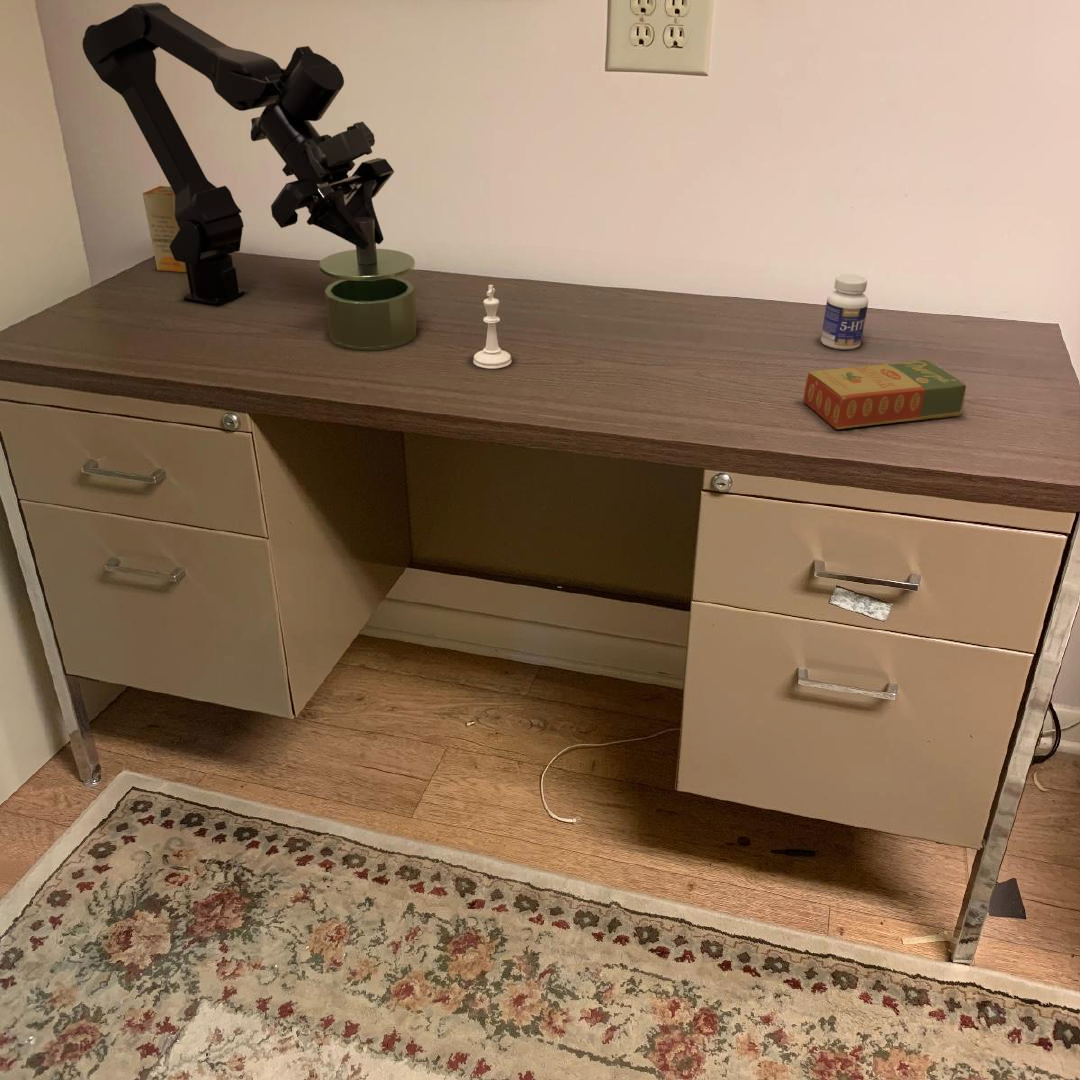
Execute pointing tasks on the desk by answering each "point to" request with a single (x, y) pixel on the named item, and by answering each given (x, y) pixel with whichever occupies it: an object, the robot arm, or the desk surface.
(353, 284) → the tin
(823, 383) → the carton
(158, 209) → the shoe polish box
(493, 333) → the chess piece
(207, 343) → the desk surface
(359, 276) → the lid
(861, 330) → the pill bottle
